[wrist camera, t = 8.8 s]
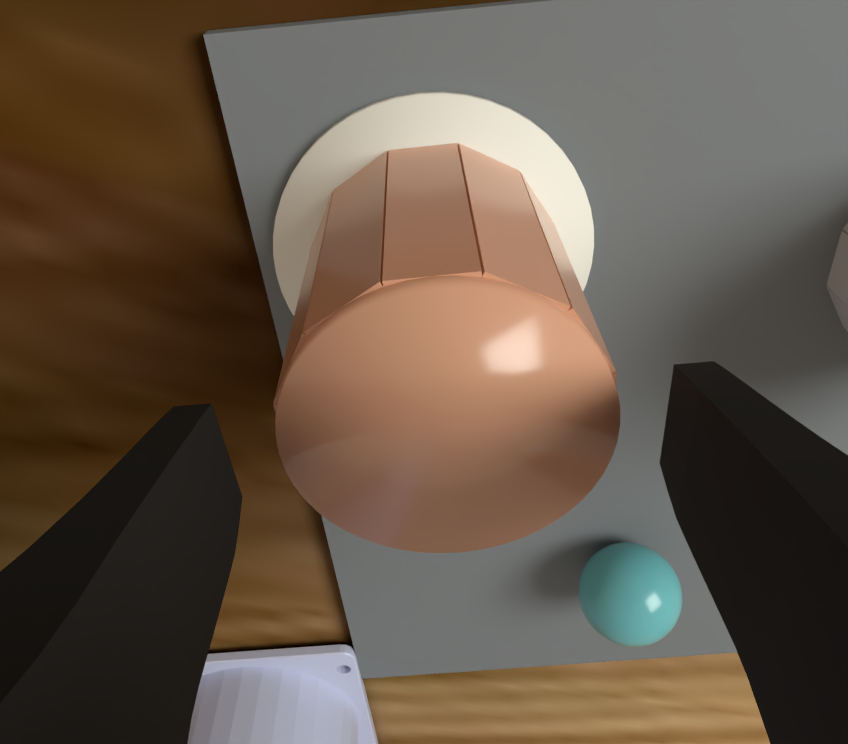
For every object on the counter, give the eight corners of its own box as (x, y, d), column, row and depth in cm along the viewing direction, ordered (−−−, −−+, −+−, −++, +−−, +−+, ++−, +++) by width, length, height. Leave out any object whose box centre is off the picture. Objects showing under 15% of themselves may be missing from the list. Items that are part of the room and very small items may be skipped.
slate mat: (902, 630, 26) (914, 647, 25) (361, 668, 27) (361, 686, 26) (1270, -75, 13) (1309, -72, 13) (207, 30, 14) (199, 38, 13)
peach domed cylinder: (552, 351, 17) (610, 540, 13) (336, 372, 18) (311, 564, 13) (555, 131, 14) (632, 270, 9) (291, 160, 15) (236, 309, 10)
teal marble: (659, 580, 23) (689, 664, 21) (568, 587, 23) (587, 671, 21) (670, 518, 22) (704, 601, 19) (571, 525, 22) (592, 609, 19)
